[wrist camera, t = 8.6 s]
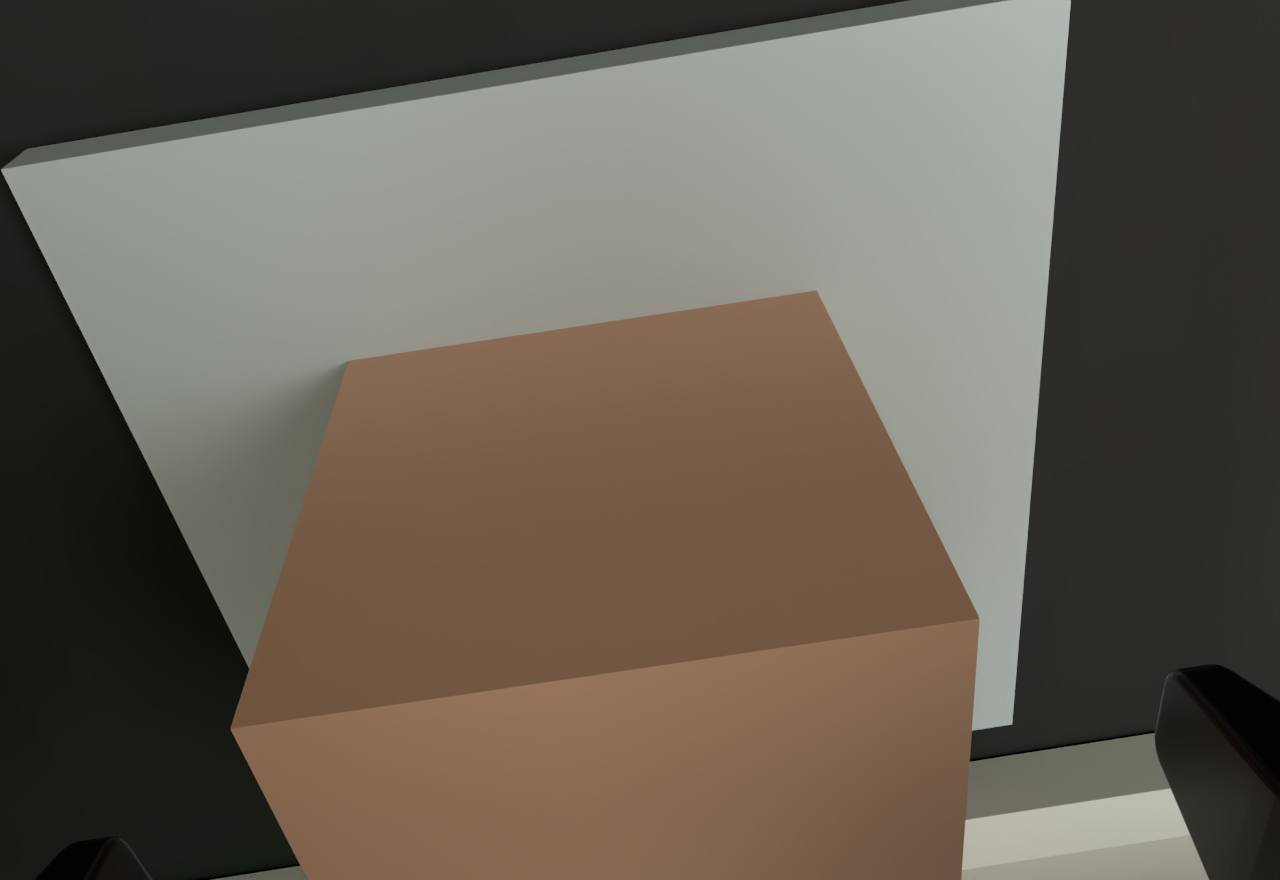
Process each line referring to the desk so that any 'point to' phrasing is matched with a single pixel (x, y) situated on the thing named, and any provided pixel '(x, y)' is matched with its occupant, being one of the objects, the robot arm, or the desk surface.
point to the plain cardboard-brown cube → (616, 618)
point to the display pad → (588, 254)
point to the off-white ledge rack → (1057, 818)
